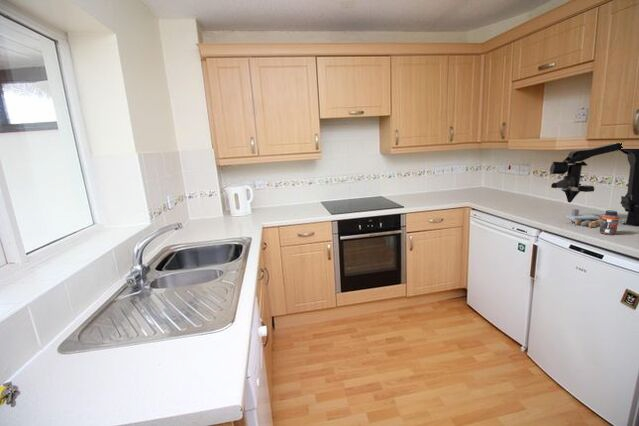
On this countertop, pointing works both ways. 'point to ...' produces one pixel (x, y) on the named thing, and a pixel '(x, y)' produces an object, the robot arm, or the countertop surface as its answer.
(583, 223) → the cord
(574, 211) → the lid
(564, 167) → the robot arm
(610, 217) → the supplement bottle
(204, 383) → the countertop surface
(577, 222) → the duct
